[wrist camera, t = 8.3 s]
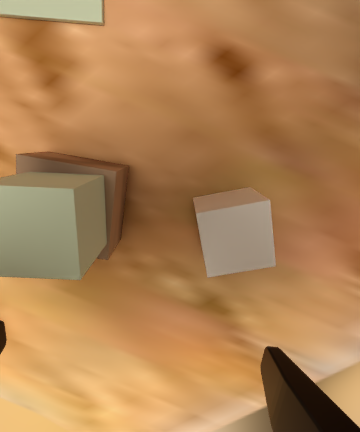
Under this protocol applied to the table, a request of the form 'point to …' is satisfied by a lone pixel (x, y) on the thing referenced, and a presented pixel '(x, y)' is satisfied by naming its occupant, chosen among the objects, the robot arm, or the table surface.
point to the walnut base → (77, 165)
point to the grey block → (235, 231)
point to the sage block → (51, 224)
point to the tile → (55, 10)
